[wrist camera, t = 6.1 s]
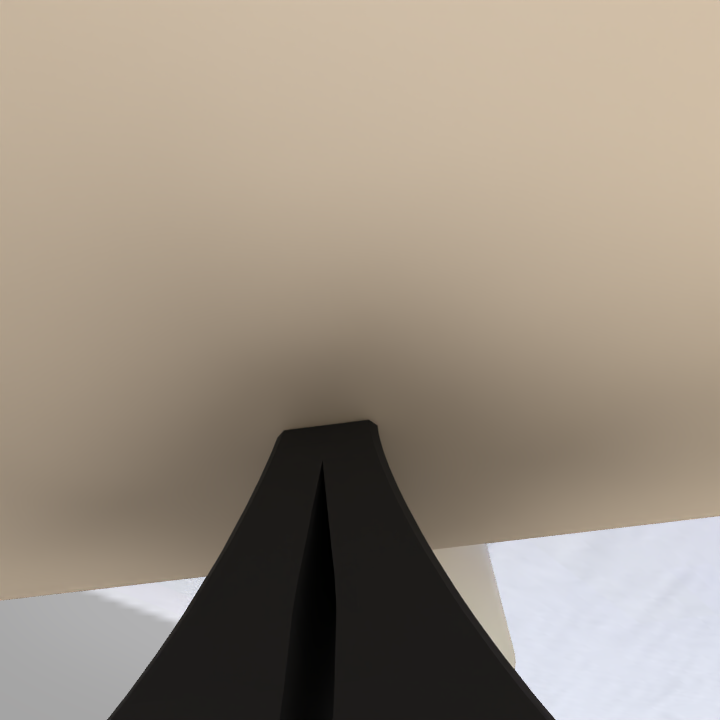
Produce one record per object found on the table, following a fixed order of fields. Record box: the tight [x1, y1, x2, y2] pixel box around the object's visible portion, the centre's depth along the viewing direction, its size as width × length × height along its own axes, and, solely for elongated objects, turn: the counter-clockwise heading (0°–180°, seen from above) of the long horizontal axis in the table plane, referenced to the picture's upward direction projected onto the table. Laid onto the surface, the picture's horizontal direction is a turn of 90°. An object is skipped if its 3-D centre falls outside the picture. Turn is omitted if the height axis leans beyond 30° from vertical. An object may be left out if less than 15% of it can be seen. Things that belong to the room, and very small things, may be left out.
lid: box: [0, 0, 720, 601], centre depth 8 cm, size 13×13×1 cm
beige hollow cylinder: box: [432, 544, 516, 669], centre depth 17 cm, size 5×5×5 cm
